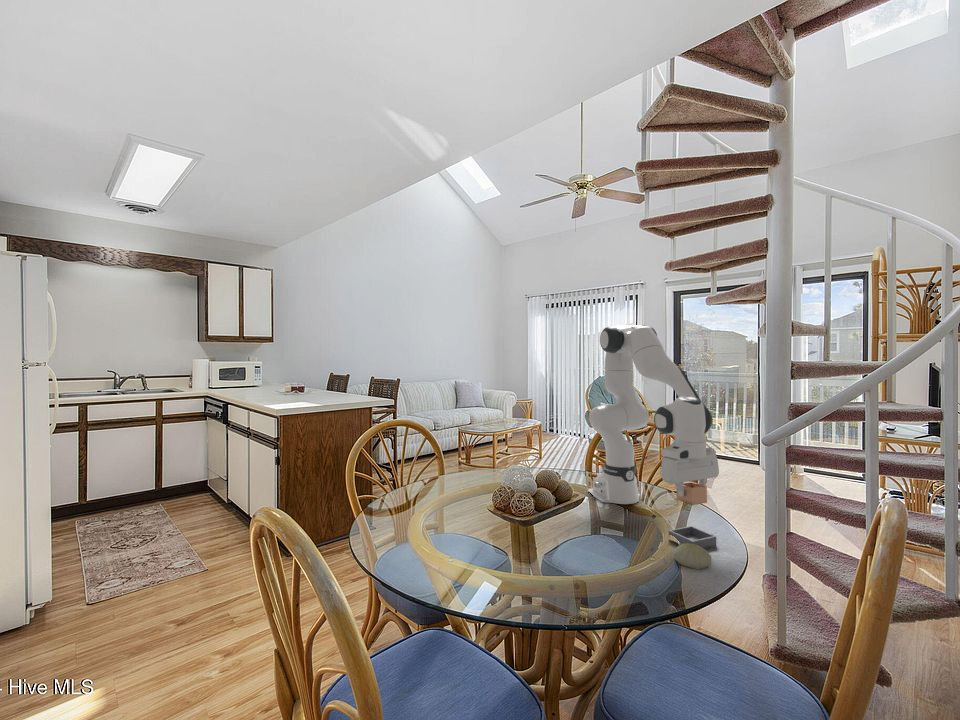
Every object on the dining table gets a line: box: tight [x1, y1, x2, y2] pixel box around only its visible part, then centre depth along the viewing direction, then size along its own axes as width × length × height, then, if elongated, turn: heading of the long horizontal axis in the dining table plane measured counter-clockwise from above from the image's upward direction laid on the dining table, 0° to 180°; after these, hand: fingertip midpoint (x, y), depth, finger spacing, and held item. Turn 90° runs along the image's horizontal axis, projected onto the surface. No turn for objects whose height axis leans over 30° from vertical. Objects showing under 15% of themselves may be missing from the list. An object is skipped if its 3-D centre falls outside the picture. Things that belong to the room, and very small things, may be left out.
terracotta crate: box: [675, 481, 708, 506], centre depth 136 cm, size 6×6×5 cm
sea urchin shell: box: [674, 543, 712, 570], centre depth 123 cm, size 9×8×8 cm
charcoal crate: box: [668, 525, 717, 550], centre depth 137 cm, size 9×9×3 cm
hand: (691, 494), depth 136 cm, fingers closed on terracotta crate, 6 cm apart
